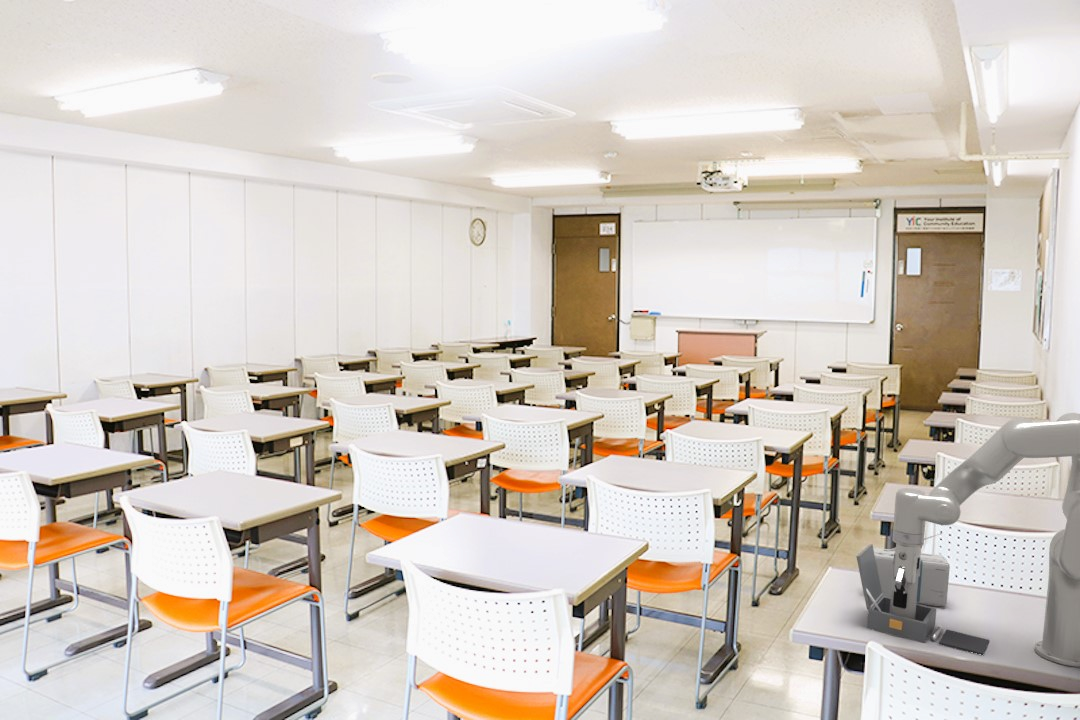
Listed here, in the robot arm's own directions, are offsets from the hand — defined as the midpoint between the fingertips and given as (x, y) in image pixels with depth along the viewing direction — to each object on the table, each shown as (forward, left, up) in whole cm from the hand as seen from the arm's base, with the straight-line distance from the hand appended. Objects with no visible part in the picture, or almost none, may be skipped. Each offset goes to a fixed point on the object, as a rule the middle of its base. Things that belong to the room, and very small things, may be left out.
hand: (903, 602), depth 222 cm
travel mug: (0, 0, -7) cm, 7 cm away
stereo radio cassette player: (+4, -22, -7) cm, 23 cm away
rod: (-9, 0, -7) cm, 11 cm away
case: (+2, 0, -7) cm, 7 cm away
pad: (-15, 0, -7) cm, 16 cm away
